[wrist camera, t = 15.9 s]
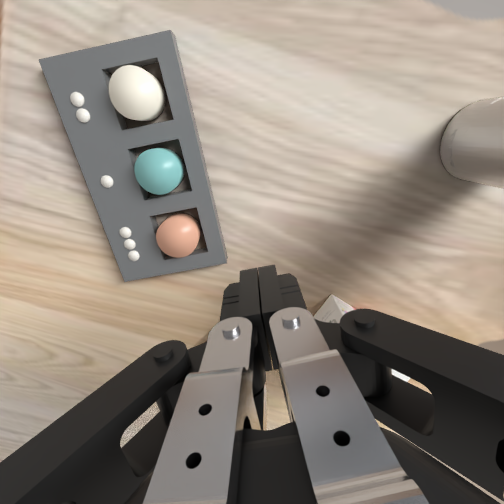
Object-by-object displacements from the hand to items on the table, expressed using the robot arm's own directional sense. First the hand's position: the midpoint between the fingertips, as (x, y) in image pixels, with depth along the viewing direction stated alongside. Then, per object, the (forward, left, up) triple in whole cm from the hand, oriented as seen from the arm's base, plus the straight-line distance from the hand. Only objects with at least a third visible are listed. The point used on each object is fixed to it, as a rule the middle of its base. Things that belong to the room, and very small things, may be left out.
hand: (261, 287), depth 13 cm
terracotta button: (+10, +4, -26) cm, 29 cm away
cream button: (+10, -12, -26) cm, 31 cm away
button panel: (+12, -4, -27) cm, 30 cm away
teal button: (+10, -4, -26) cm, 29 cm away
